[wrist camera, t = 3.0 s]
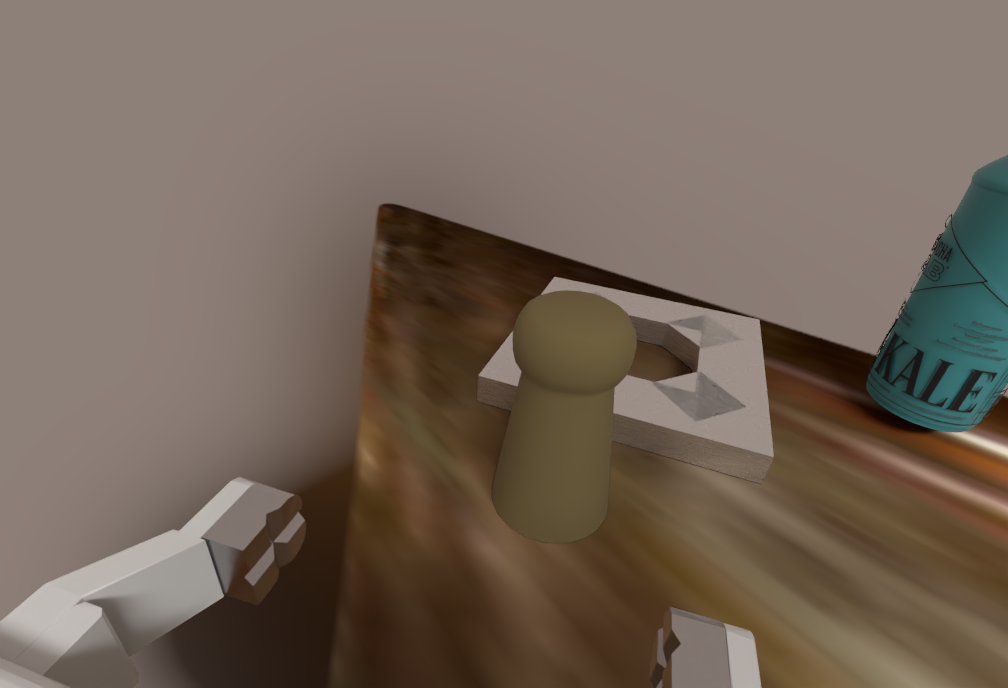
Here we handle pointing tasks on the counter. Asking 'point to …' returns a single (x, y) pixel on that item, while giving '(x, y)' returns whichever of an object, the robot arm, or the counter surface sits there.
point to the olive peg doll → (562, 415)
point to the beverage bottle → (954, 319)
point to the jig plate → (677, 385)
